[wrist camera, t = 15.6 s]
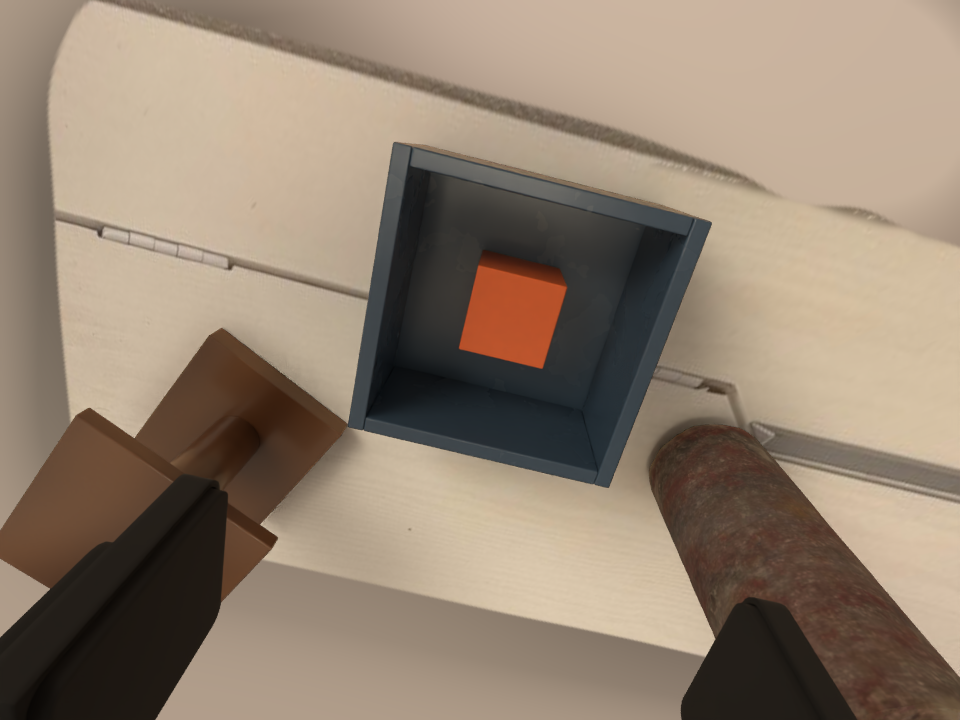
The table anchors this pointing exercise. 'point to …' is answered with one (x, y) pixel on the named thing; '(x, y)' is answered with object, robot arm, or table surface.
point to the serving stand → (175, 464)
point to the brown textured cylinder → (794, 572)
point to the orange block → (513, 309)
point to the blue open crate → (578, 333)
